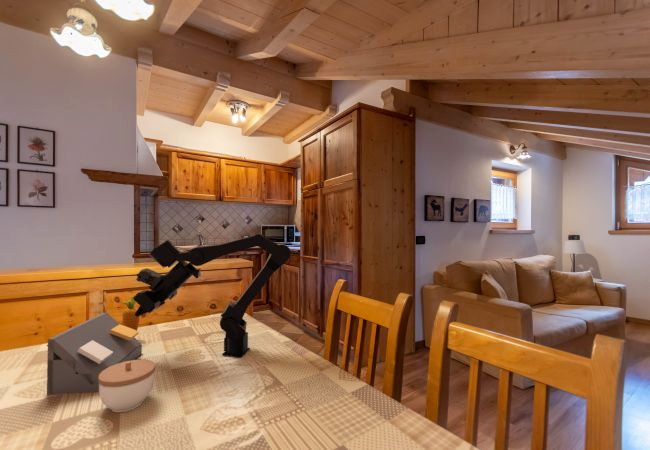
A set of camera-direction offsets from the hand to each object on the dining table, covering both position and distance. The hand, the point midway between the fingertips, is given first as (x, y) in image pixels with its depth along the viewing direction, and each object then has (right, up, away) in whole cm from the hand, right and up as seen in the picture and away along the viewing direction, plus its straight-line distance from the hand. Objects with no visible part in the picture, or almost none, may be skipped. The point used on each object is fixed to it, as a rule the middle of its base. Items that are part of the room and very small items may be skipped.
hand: (136, 315), depth 90 cm
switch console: (-4, -13, -8) cm, 16 cm away
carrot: (-10, -13, +14) cm, 22 cm away
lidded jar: (+12, -13, -23) cm, 29 cm away
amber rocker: (-2, -7, 0) cm, 8 cm away
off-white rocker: (-1, -7, -14) cm, 16 cm away
